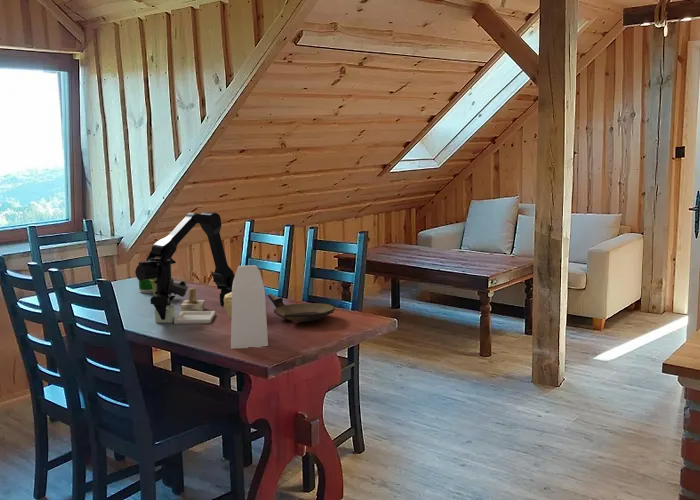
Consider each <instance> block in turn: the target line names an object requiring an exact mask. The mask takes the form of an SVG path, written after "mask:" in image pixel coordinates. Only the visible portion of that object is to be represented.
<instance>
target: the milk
mask: <svg viewBox="0 0 700 500" xmlns="http://www.w3.org/2000/svg"><path fill="white" fill-rule="evenodd" d="M234 275H235V277H234V281H233V285H232V318H231V317H230V318H231V321H230V322H231V324H230V325H231V326H230V332H231V333H230V349H233V350H234V349H249V348H248V347H255V348H262V347H261V346H268V347H269V341H268V325H267V323H268V322H267V305H266V293H265V292H266V290H265V285H264V281H263V276H262V274H261V272H260V270H259V268H258V266H257V265H255V264H254V265H238V267H237V269H236V271H235V273H234Z"/></svg>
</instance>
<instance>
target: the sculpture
mask: <svg viewBox="0 0 700 500" xmlns="http://www.w3.org/2000/svg"><path fill="white" fill-rule="evenodd" d="M223 308H224V309H225V311H226V313H227V315H228V316H229V317H230V318H232V292H230V293H228V294H226V295H225V297H224V306H223Z"/></svg>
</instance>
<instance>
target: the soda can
mask: <svg viewBox="0 0 700 500" xmlns="http://www.w3.org/2000/svg"><path fill="white" fill-rule="evenodd" d="M138 287H139V288H138V289H139V290H138V291H140V292H141V293H143V294H154V293H153V288H152V284H151V281H150V279H149V280H144V281H140V280H138Z"/></svg>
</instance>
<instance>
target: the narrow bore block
mask: <svg viewBox="0 0 700 500" xmlns="http://www.w3.org/2000/svg"><path fill="white" fill-rule="evenodd" d="M175 309H176V308H175V305H174V304H171V305H167V308H166V315H165V320H162V319H161V317H160V315H159V314H158V312H157V310H156V308H154V318H155V320H154V322H155V323H172V322H173V321H174V320H175V319H176V315H175V314H176V312H175Z"/></svg>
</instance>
